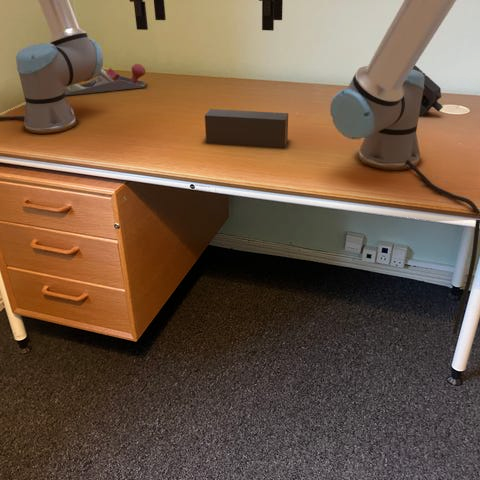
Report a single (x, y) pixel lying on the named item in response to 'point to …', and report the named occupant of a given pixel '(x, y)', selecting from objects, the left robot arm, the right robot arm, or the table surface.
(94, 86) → the hand plane
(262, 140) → the bar
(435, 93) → the tool
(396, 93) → the right robot arm
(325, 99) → the table surface
